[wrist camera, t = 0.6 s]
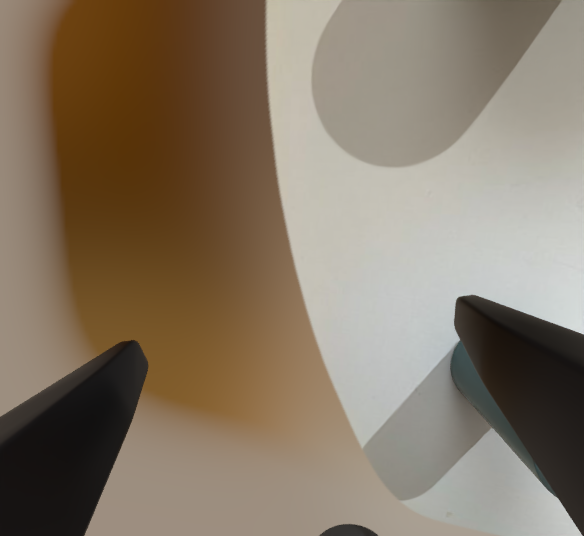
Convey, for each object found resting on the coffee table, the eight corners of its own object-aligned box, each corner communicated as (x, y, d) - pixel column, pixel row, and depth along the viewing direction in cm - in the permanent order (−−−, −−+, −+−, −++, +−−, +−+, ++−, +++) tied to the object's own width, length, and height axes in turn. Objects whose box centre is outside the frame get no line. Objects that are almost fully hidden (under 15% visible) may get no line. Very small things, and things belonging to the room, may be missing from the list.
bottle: (508, 419, 25) (645, 555, 15) (433, 379, 24) (519, 489, 14) (562, 348, 23) (751, 444, 13) (484, 305, 23) (617, 370, 13)
